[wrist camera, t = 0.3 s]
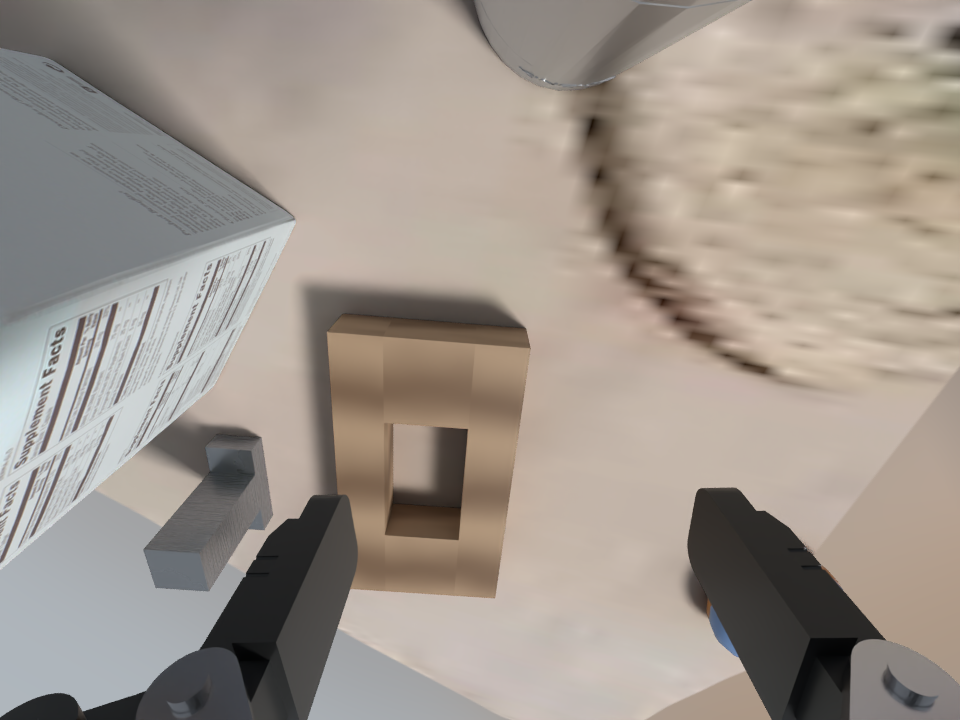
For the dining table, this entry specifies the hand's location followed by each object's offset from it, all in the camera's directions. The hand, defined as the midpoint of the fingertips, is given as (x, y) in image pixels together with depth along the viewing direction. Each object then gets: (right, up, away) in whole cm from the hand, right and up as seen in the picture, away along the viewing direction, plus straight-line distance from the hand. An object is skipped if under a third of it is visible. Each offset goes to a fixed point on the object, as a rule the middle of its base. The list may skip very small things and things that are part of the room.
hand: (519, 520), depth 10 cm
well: (-4, -3, +21) cm, 21 cm away
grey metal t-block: (-18, -5, +22) cm, 28 cm away
